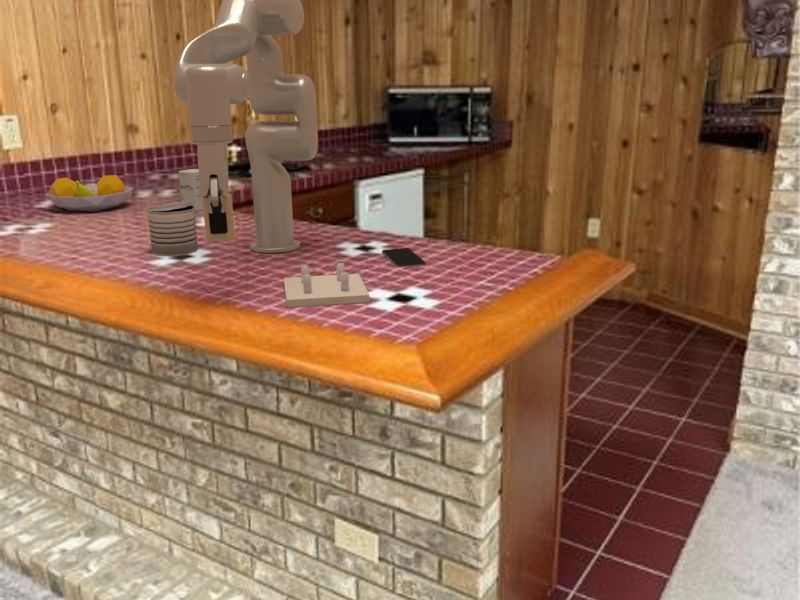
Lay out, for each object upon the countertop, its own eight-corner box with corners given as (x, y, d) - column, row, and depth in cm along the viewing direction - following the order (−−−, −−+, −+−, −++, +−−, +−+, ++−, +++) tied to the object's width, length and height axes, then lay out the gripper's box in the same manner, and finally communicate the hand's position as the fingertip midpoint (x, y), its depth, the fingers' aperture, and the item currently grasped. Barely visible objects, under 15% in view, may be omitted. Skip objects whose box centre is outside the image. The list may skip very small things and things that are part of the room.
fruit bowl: (76, 201, 262) (71, 168, 258) (148, 202, 258) (145, 169, 255) (27, 215, 235) (21, 180, 232) (107, 217, 232) (103, 181, 228)
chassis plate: (284, 284, 157) (282, 261, 156) (358, 280, 160) (358, 258, 159) (287, 307, 142) (285, 282, 141) (369, 302, 145) (369, 277, 144)
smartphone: (397, 266, 170) (380, 249, 184) (397, 271, 171) (380, 254, 184) (427, 263, 172) (408, 247, 186) (427, 268, 173) (408, 251, 186)
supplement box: (181, 209, 244) (177, 170, 241) (198, 206, 250) (195, 168, 246) (196, 211, 240) (192, 172, 237) (213, 208, 246) (210, 169, 242)
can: (185, 257, 181) (180, 208, 178) (142, 255, 183) (137, 207, 180) (206, 246, 192) (202, 200, 188) (165, 245, 194) (161, 199, 191)
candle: (225, 234, 148) (221, 184, 145) (240, 239, 145) (236, 188, 142) (200, 239, 145) (195, 188, 142) (215, 244, 141) (211, 191, 138)
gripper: (194, 131, 146) (202, 221, 152) (186, 140, 130) (196, 241, 136) (233, 130, 147) (240, 219, 153) (230, 139, 131) (238, 239, 137)
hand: (219, 228), depth 144 cm, fingers closed on candle, 5 cm apart
